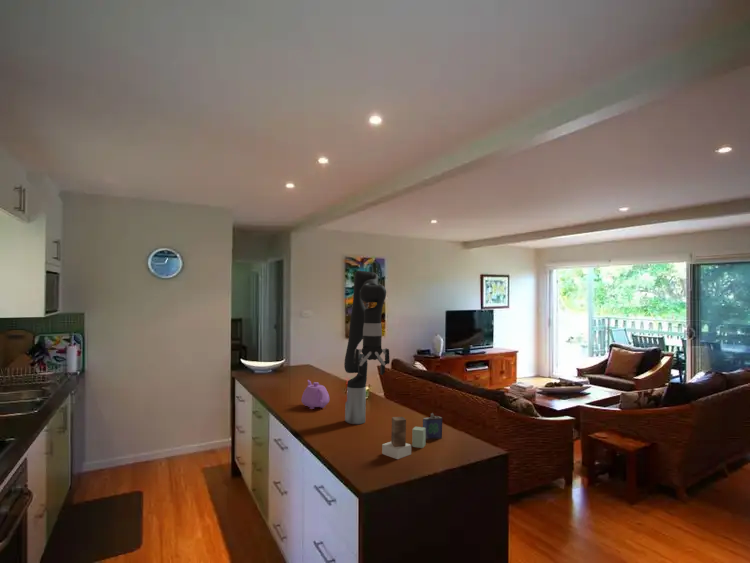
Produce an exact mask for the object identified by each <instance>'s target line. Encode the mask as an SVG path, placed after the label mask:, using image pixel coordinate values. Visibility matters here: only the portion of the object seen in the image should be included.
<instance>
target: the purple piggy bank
mask: <svg viewBox="0 0 750 563" xmlns="http://www.w3.org/2000/svg"><path fill="white" fill-rule="evenodd" d="M327 390H328V389H327V388H326V387H325V386H324V385H322V384H320V383H319V382H318V381H317V382H315V381H314V382H313V383H312V381H311V380H310V379H307V386H306V388H305V389H304V391H303V393H302V396H301V403H302V404H303V405H304V406H308V407H307V408H309V409H314V410H315V408H320V409H321V408H324V407H325V408H326V406H328V404H329V402H330V395H329V392H328V391H327Z"/></svg>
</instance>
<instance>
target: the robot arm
mask: <svg viewBox="0 0 750 563" xmlns="http://www.w3.org/2000/svg"><path fill="white" fill-rule="evenodd" d="M386 297H387V290H386V287H385V286H384V285H381V284H379V276H378V274H377V273H376V272H373V271H364V270H357V271H356V272H355V275H354V282H353V298H352V307H351V308H352V309H351V312H350V313H351V315H350V321H349V329H348V330H349V331H348V342H347V347H346V351H345V355H344V356H345V357H344V371H345V372H346V373H347V374H356V373H357V374H356V375H355V376H354V377H352V378H350V379H349V380H347V385H346V386H347V388H346V390H347V391H346V401H345V402H344V404H345V407H344V408H345V409H344V421H345V422H346V423H347V424H349V425H361V424H364V423H366V410H367V409H366V405H367V404H366V399H367V398H366V397H367V395H366V392H367V390H366V389H367V379H368V377H367V376H368V366H369V365H368V361H372V360H373V361H376V360H377V361H378V362H379V363H380V367H379V368H380V370H379V371H380V372H379V373H380V375H382V376H384V374H385V372H386V365H389V364H390V361H391V360H390V349H389V348H382V341H383V340H382V337H383V336H382V334H383V331H382V312H383V306H384V303H385V300H386ZM364 302H365V303H376V304H375V306H374V307H368V308H367V307H366V306H365V304H364ZM361 342H362V348H361V349H359V348H358V346H359V344H360V343H361ZM382 353H383V355H384V360H383V358H382V357H381V355H382Z"/></svg>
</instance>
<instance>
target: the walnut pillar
mask: <svg viewBox="0 0 750 563" xmlns="http://www.w3.org/2000/svg"><path fill="white" fill-rule="evenodd" d="M406 438H407V419H406V418H405V417H404V416H392V417H391V439H390V442H391V443H392V444H393V446H394V447H401V446H405V445H406V443H407V442H406V441H407V440H406Z"/></svg>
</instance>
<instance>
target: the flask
mask: <svg viewBox="0 0 750 563" xmlns="http://www.w3.org/2000/svg"><path fill="white" fill-rule="evenodd" d="M422 427H424V428H426V441H429V440H430V441H432V440H439V439H443V417H442V416H439V415H435V414H434V413H433V412H432V413H430V417H423V419H422Z"/></svg>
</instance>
